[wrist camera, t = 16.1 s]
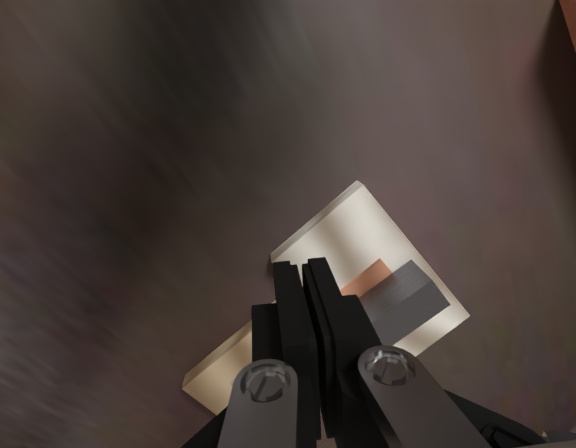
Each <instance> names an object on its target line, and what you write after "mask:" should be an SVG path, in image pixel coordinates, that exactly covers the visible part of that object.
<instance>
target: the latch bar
mask: <svg viewBox="0 0 576 448" xmlns="http://www.w3.org/2000/svg"><path fill="white" fill-rule="evenodd" d="M359 300H360V302H361V304H362V306H363V307H364V309H365V311H366V313H367V315H368V317H369V319H370V321H371V323H372V325H373V327H374V329H375V331H376V333H377V335H378V337H379V339H380V341H381V343H382V345H388V346H393V345H394V344H396V343H397V342H398V341H400V340H401V339H403V338H404V337H406V336H407V335H408V334H410V333H411V332H413V331H414V330H416V329H417V328H418V327H420V326H421V325H423V324H424V323H425V322H427V321H428V320H430V319H431V318H433V317H434V316H435V315H437V314H438V313H440V312H441V311H443V310H444V309H445V308H447V307H448V306H450V305H451V304H450V303H449V302H448V300H447V299H446V298H445V296H444V295H443V294H442V292H441V291H440V290H439V288H438V287H437V286H436V284H435V283H434V282H433V280H432V279H431V278H430V277H429V276H428V275H427V274H426V273H425V272H424V271H423V270H422V269H421V268H420V267H419V266H418V265H417V264H416V263H415V262H414V261H413V260H412V259H411V260H410V261H408V262H407V263H406V264H404V265H403V266H401V267H400V268H399V269H397V270H396V271H395V272H393V273H392V274H391V275H389V276H388V277H387V278H385V279H384V280H382V281H381V282H380V283H378V284H377V285H376V286H374V287H373V288H372V289H370V290H369V291H367V292H366V293H365V294H363V295H362V296H361V297H359Z"/></svg>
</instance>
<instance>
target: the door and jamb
mask: <svg viewBox="0 0 576 448" xmlns="http://www.w3.org/2000/svg"><path fill="white" fill-rule="evenodd" d="M270 255H271V263H272V264H273V262H280V261H290V264H291V265H295V264H297V267H298V271H299V275H300V279H301V283H302V286H303V282H302V264H305V263H308V259H310V258H320V257H325V258H326V260H327V262H328V264H329V266H330V269H331V271H332V273H333V276H334V278H335V280H336V283H337V285H338V287H339V290H340V292H341V294H342V296H344V295H353V294H356V295H357V296H358V298H359V297H361V296H362V295H363V294H365V293H366V292H367V291H369V290H370V289H372V288H373V287H374V286H376V285H377V284H378V283H380V282H381V281H382V280H384V279H385V278H387V277H388V276H389V275H391V274H392V273H393V272H395V271H396V270H397V269H399V268H400V267H401V266H403V265H404V264H406V263H407V262H408V261H410V260H411V259H412V260H413V261H414V262H415V263H416V264H417V265H418V266H419V267H420V268H421V269H422V270H423V271H424V272H425V273H426V274H427V275H428V276H429V277H430V278H431V279H432V280H433V282H434V283H435V284H436V286H437V287H438V288H439V290H440V291H441V292H442V294H443V295H444V296H445V298H446V299H447V300H448V302H449V303H450V304H451V305H450V306H448V307H447V308H445V309H444V310H443V311H441V312H440V313H438V314H437V315H435V316H434V317H433V318H431V319H430V320H428V321H427V322H425V323H424V324H423V325H421V326H420V327H418V328H417V329H416V330H414V331H413V332H411V333H410V334H408V335H407V336H406V337H404V338H403V339H401V340H400V341H398V342H397V343H396V344H394V345H393V346H395V347H398V348H402V349H404V350H406V351H408V352H410V353H411V354H413V355H414V356H415V357H416V356H417V355H418V354H420V353H421V352H422V351H424V350H425V349H426V348H428V347H429V346H430V345H432V344H433V343H434V342H436V341H437V340H438V339H440V338H441V337H442V336H444V335H445V334H447V333H448V332H449V331H451V330H452V329H453V328H455V327H456V326H457V325H459V324H460V323H461V322H463V321H464V320H465V319H467V318H468V317H469V316H470V315H469V314H468V313H467V311H466V310H465V309H464V308H463V306H462V305H461V304H460V303H459V302H458V300H457V299H456V298H455V297H454V295H453V294H452V293H451V292H450V290H449V289H448V288H447V287H446V286H445V284H444V283H443V282H442V281H441V279H440V278H439V277H438V276H437V275H436V273H435V272H434V271H433V270H432V268H431V267H430V266H429V265H428V264H427V262H426V261H425V260H424V259H423V257H422V256H421V255H420V254H419V252H418V251H417V250H416V249H415V248H414V246H413V245H412V244H411V243H410V241H409V240H408V239H407V238H406V237H405V235H404V234H403V233H402V232H401V230H400V229H399V228H398V227H397V226H396V224H395V223H394V222H393V221H392V219H391V218H390V217H389V216H388V214H387V213H386V212H385V211H384V210H383V208H382V207H381V206H380V205H379V203H378V202H377V201H376V200H375V199H374V197H373V196H372V195H371V194H370V192H369V191H368V190H367V189H366V188H365V186H364V185H363V184H362V183H360V182H359V181H358V180H356V181H355V182H354V183H353V184H352V185H350V186H349V187H348V188H347V189H346V190H345V191H343V192H342V193H341V194H340V195H339V196H338V197H336V198H335V199H334V200H333V201H332V202H331V203H329V204H328V205H327V206H326V207H325V208H324V209H322V210H321V211H320V212H319V213H318V214H316V215H315V216H314V217H313V218H312V219H311V220H309V221H308V222H307V223H306V224H305V225H304V226H302V227H301V228H300V229H299V230H298V231H297V232H295V233H294V234H293V235H292V236H291V237H290V238H288V239H287V240H286V241H285V242H284V243H282V244H281V245H280V246H279V247H278V248H277V249H275V250H274V251H273V252H272V253H271V254H270ZM272 303H276V300H275V301H273V302H272ZM250 363H252V320H250V321H249V322H248V323H247V324H246V325H244V326H243V327H242V328H241V329H239V330H238V331H237V332H236V333H235V334H233V335H232V336H231V337H230V338H229V339H227V340H226V341H225V342H224V343H223V344H221V345H220V346H219V347H218V348H217V349H215V350H214V351H213V352H212V353H210V354H209V355H208V356H207V357H206V358H204V359H203V360H202V361H201V362H200V363H198V364H197V365H196V366H195V367H194V368H192V369H191V370H190V371H189V372H187V373H186V374H185V377H184V381H183V385H182V390H184V391H185V392H186V393H188V394H189V395H190V396H192V397H193V398H194V399H196V400H197V401H198V402H200V403H201V404H202V405H204V406H205V407H206V408H208V409H209V410H210V411H212V412H213V413H214V414H216V415H218V414H219V413H220V412H221V411H222V410H223V409H225V408H226V407H227V406H228V403H229V398H230V394H231V390H232V386H233V382H234V380H235V378H236V376H237V374H238V373H239V372H240V371H241V370H242V368H244V367H245V366H247V365H248V364H250Z"/></svg>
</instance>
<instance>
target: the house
mask: <svg viewBox="0 0 576 448" xmlns="http://www.w3.org/2000/svg"><path fill="white" fill-rule="evenodd" d="M559 1H560V4H561V8H562V11H563V14H564V17H565V20H566V24H567V27H568V30H569V33H570V36H571V39H572V43H573V46H574V49H575V52H576V0H559Z"/></svg>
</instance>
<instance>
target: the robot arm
mask: <svg viewBox="0 0 576 448" xmlns="http://www.w3.org/2000/svg"><path fill="white" fill-rule="evenodd" d="M273 274H274V285H275V296H276V303H270V304H261V305H252V363H250V364H248V365H247V366H245V367H244V368H242V370H241V371H240V372H239V373H238V374H237V376H236V378H235V380H234V382H233V386H232V390H231V394H230V398H229V403H228V406H227V407H226V408H225V409H223V410H222V411H221V412H220V413H219V414H218V415H217V416H216V417H215V418H213V419H212V420H211V421H210V422H209V423H208V424H207V425H206V426H204V427H203V428H202V429H201V430H200V431H199V432H198V433H197V434H195V435H194V436H193V437H192V438H191V439H190V440H189V441H188V442H187V443H185V444H184V445H183V446H182V447H181V448H317V445H316V440H321V423H320V408H321V413H322V418H323V422H324V427H325V432H326V436H327V438H328V439H329V438H335V442H336V446H337V448H576V433H572V432H559V431H546V430H544V432H543V435H542V436H539V435H538V434H536V433H535V432H534V431H533V430H531V429H529V428H527V427H525V426H524V425H522V424H520V423H518V422H515V421H513V420H511V419H509V418H507V417H504V416H502V415H500V414H498V413H495V412H493V411H491V410H489V409H487V408H484V407H482V406H480V405H478V404H475V403H473V402H471V401H469V400H467V399H464V398H462V397H460V396H458V395H455V394H453V393H451V392H449V391H447V390H444V389H442V387H441V386H440V385H439V384H438V383H437V381H436V380H435V379H434V378H433V377H432V375H431V374H430V373H429V372H428V371H427V370H426V368H425V367H424V366H423V365H422V364H421V362H420V361H419V360H418V359H417V358H416V357H415V356H414V355H413V354H411V353H410V352H408V351H406V350H404V349H402V348H398V347H395V346H388V345H382V343H381V341H380V339H379V337H378V335H377V333H376V331H375V329H374V327H373V325H372V323H371V321H370V319H369V317H368V315H367V313H366V311H365V309H364V307H363V306H362V304H361V302H360V300H359V298H358V296H357V295H356V294H353V295H344V296H342V294H341V292H340V290H339V287H338V285H337V283H336V280H335V278H334V276H333V273H332V271H331V269H330V266H329V264H328V262H327V260H326V258H325V257H320V258H310V259H308V263H305V264H302V282H303V286H302V283H301V279H300V275H299V271H298V267H297V264H295V265H291V264H290V261H280V262H273Z"/></svg>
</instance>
